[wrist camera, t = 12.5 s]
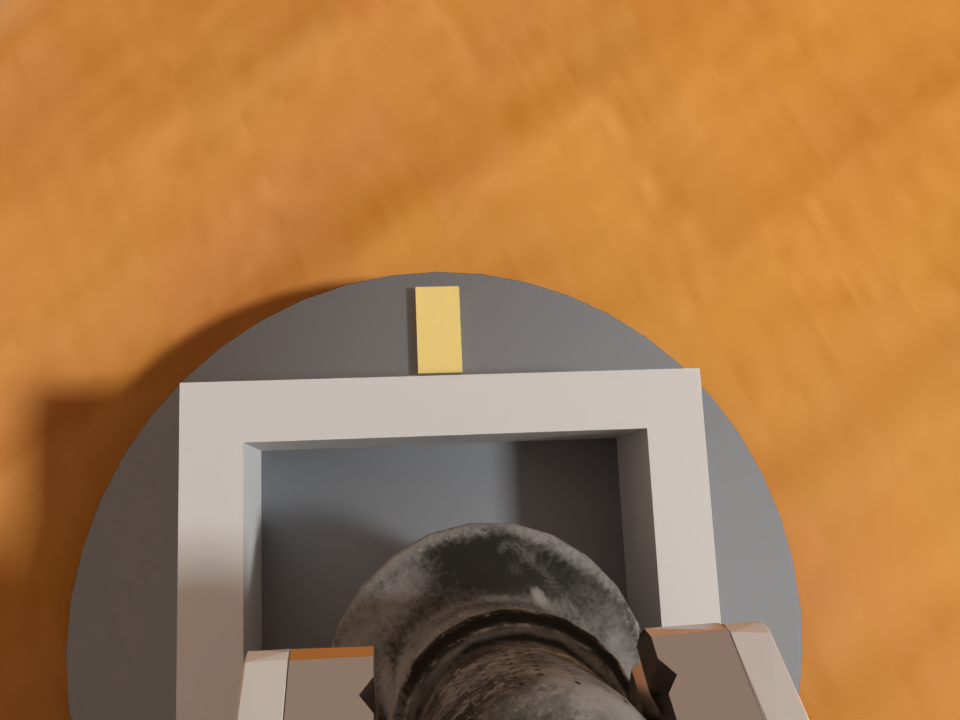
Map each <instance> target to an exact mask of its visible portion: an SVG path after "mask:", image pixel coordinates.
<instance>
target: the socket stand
mask: <svg viewBox="0 0 960 720" xmlns="http://www.w3.org/2000/svg"><path fill="white" fill-rule="evenodd" d="M467 523H513V524H517V525H520V526H524V527H527V528H531V529H534V530H538V531H541V532H545V533H549V534H552V535H554V536H555V537H557V538H559V539H560V540H562V541H564V542H565V543H567V544H569V545H570V546H572V547H574V548H575V549H577V550H579V551H580V552H582V553H584V554H585V555H587V556H588V557H589V558H590V559H591V560H592V561H593V562H594V563H595V564H596V565H597V566H598V567H599V568H600V569H601V570H602V571H603V572H604V573H605V574H606V575H607V576H608V577H609V578H610V579H611V580H612V581H613V582H614V583H615V584H616V585H617V587H618V588H619V590H620V592H621V594H622V595H623V597H624V599H625V601H626V602H627V604H628V606H629V608H630V609H631V611H632V613H633V615H634V616H635V618H636V620H637V622H638V623H639V627H640V630H641V631H642V630H643V629H644V628H655V627H668V626H681V625H694V624H707V623H720V624H727V623H739V622H751V621H760V622H763V623H764V624H765V625H766V626H767V627H768V628H769V630H770V632H771V634H772V637H773V639H774V641H775V643H776V646H777V648H778V650H779V652H780V655H781V657H782V659H783V661H784V664H785V666H786V668H787V670H788V673H789V675H790V677H791V679H792V682H793V684H794V686H795V688H796V691H797V693H798V695H799V688H800V676H801V665H802V636H801V609H800V602H799V596H798V589H797V583H796V577H795V571H794V564H793V559H792V556H791V552H790V549H789V545H788V542H787V538H786V535H785V531H784V528H783V524H782V521H781V517H780V515H779V512H778V510H777V508H776V505H775V503H774V500H773V498H772V496H771V493H770V491H769V489H768V486H767V484H766V482H765V479H764V477H763V474H762V472H761V471H760V469H759V467H758V465H757V464H756V462H755V460H754V459H753V457H752V455H751V453H750V452H749V450H748V448H747V446H746V445H745V443H744V441H743V439H742V438H741V436H740V434H739V433H738V431H737V430H736V429H735V427H734V426H733V425H732V423H731V422H730V421H729V419H728V418H727V417H726V415H725V414H724V413H723V411H722V410H721V409H720V407H719V406H718V405H717V403H716V402H715V401H714V400H713V398H712V397H711V396H710V395H709V394H708V393H707V392H706V391H705V390H704V389H703V388H702V387H701V378H700V368H683V367H682V366H681V365H680V364H679V363H678V362H676V361H675V360H674V359H673V358H671V357H670V356H669V355H668V354H666V353H665V352H664V351H663V350H661V349H660V348H659V347H658V346H656V345H655V344H654V343H653V342H651V341H650V340H649V339H648V338H647V337H645V336H644V335H642V334H640V333H639V332H637V331H635V330H634V329H632V328H631V327H629V326H627V325H626V324H624V323H622V322H621V321H619V320H618V319H616V318H614V317H613V316H611V315H610V314H608V313H606V312H604V311H601V310H599V309H597V308H595V307H593V306H590V305H588V304H586V303H584V302H582V301H579V300H577V299H575V298H573V297H571V296H568V295H566V294H562V293H559V292H556V291H553V290H550V289H546V288H543V287H540V286H537V285H533V284H530V283H527V282H523V281H517V280H512V279H506V278H500V277H495V276H489V275H483V274H468V273H447V272H430V273H417V274H405V275H392V276H387V277H382V278H377V279H373V280H368V281H363V282H358V283H353V284H349V285H345V286H342V287H339V288H336V289H333V290H330V291H328V292H325V293H322V294H319V295H316V296H313V297H310V298H307V299H305V300H302V301H300V302H298V303H296V304H294V305H292V306H290V307H288V308H286V309H284V310H282V311H280V312H278V313H276V314H274V315H272V316H270V317H268V318H266V319H264V320H262V321H260V322H258V323H257V324H255V325H254V326H252V327H251V328H249V329H248V330H246V331H245V332H243V333H242V334H240V335H239V336H237V337H236V338H234V339H233V340H231V341H230V342H228V343H227V344H225V345H224V346H222V347H221V348H220V349H219V350H217V351H216V352H215V353H214V354H213V355H212V356H210V357H209V358H208V359H207V360H206V361H205V362H203V363H202V364H201V365H200V366H199V367H198V368H197V369H195V370H194V371H193V372H192V373H191V374H190V375H188V376H187V377H186V378H185V379H184V380H183V381H182V382H181V383H180V384H179V386H178V387H177V388H176V389H175V390H174V391H173V392H172V393H171V394H170V396H169V397H168V398H167V399H166V400H165V401H164V402H163V403H162V404H161V406H160V407H159V408H158V409H157V410H156V411H155V412H154V413H153V415H152V416H151V417H150V419H149V420H148V421H147V423H146V424H145V426H144V427H143V429H142V430H141V432H140V433H139V434H138V436H137V437H136V439H135V440H134V442H133V443H132V445H131V446H130V447H129V449H128V450H127V452H126V453H125V455H124V456H123V458H122V460H121V462H120V464H119V466H118V468H117V470H116V471H115V473H114V475H113V477H112V479H111V481H110V483H109V485H108V487H107V489H106V491H105V493H104V495H103V496H102V498H101V500H100V503H99V506H98V508H97V511H96V514H95V516H94V519H93V522H92V525H91V527H90V530H89V533H88V535H87V538H86V541H85V544H84V546H83V549H82V554H81V558H80V562H79V567H78V571H77V575H76V580H75V584H74V589H73V593H72V597H71V606H70V616H69V627H68V637H67V648H66V659H67V687H68V705H69V711H70V717H71V720H235V719H236V712H237V704H238V697H239V690H240V683H241V675H242V668H243V664H244V661H245V658H246V655H247V652H248V651H261V650H279V649H306V648H331V647H332V644H333V641H334V637H335V634H336V631H337V627H338V624H339V622H340V621H341V619H342V617H343V616H344V614H345V612H346V611H347V609H348V607H349V606H350V604H351V602H352V601H353V599H354V597H355V596H356V594H357V592H358V591H359V589H360V587H361V586H362V585H363V584H364V583H365V582H366V581H367V580H368V579H369V578H370V577H371V576H372V575H373V574H374V573H375V572H376V571H377V570H378V569H379V568H380V567H381V566H382V565H383V564H384V563H385V562H386V561H387V560H388V559H389V558H390V557H391V556H392V555H393V554H395V553H397V552H398V551H400V550H402V549H404V548H405V547H407V546H409V545H410V544H412V543H414V542H416V541H417V540H419V539H421V538H423V537H424V536H426V535H428V534H430V533H434V532H437V531H441V530H445V529H449V528H452V527H456V526H460V525H464V524H467Z"/></svg>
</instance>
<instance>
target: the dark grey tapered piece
mask: <svg viewBox="0 0 960 720" xmlns="http://www.w3.org/2000/svg"><path fill="white" fill-rule="evenodd" d="M640 633H641V630H640V627H639V623H638V622H637V620H636V618H635V616H634V615H633V613H632V611H631V609H630V608H629V606H628V604H627V602H626V601H625V599H624V597H623V595H622V594H621V592H620V590H619V588H618V587H617V585H616V584H615V583H614V582H613V581H612V580H611V579H610V578H609V577H608V576H607V575H606V574H605V573H604V572H603V571H602V570H601V569H600V568H599V567H598V566H597V565H596V564H595V563H594V562H593V561H592V560H591V559H590V558H589V557H588V556H587V555H585V554H584V553H582V552H580V551H579V550H577V549H575V548H574V547H572V546H570V545H569V544H567V543H565V542H564V541H562V540H560V539H559V538H557V537H555V536H554V535H552V534H549V533H545V532H541V531H538V530H534V529H531V528H527V527H524V526H520V525H517V524H513V523H467V524H464V525H460V526H456V527H452V528H449V529H445V530H441V531H437V532H434V533H430V534H428V535H426V536H424V537H423V538H421V539H419V540H417V541H416V542H414V543H412V544H410V545H409V546H407V547H405V548H404V549H402V550H400V551H398V552H397V553H395V554H393V555H392V556H391V557H390V558H389V559H388V560H387V561H386V562H385V563H384V564H383V565H382V566H381V567H380V568H379V569H378V570H377V571H376V572H375V573H374V574H373V575H372V576H371V577H370V578H369V579H368V580H367V581H366V582H365V583H364V584H363V585H362V586H361V587H360V589H359V591H358V592H357V594H356V596H355V597H354V599H353V601H352V602H351V604H350V606H349V607H348V609H347V611H346V612H345V614H344V616H343V617H342V619H341V621H340V622H339V624H338V627H337V631H336V634H335V637H334V641H333V644H332V647H356V646H374V652H375V679H376V686H377V713H378V720H646V719H645V718H644V717H643V716H642V715H641V714H640V713H639V712H638V711H637V709H636V708H635V707H634V706H633V705H632V704H631V703H630V702H629V682H630V676H631V670H632V668H633V667H635V666H636V665H637V664H638V663H639V662H641V661H640V657H639V653H638V650H637V643H638V639H639V634H640Z"/></svg>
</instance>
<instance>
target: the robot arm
mask: <svg viewBox="0 0 960 720" xmlns="http://www.w3.org/2000/svg"><path fill="white" fill-rule="evenodd" d="M637 650H638V653H639V657H640V661H641V662H639V663H638V664H637V665H636V666H635V667H633V668H632V670H631V676H630V682H629V702H630V703H631V704H632V705H633V706H634V707H635V708H636V709H637V711H638V712H639V713H640V714H641V715H642V716H643V717H644V718H645V719H646V720H809V718H808V715H807V713H806V711H805V709H804V706H803V704H802V702H801V700H800V697H799V695H798V693H797V691H796V688H795V686H794V684H793V682H792V679H791V677H790V675H789V673H788V670H787V668H786V666H785V664H784V661H783V659H782V657H781V655H780V652H779V650H778V648H777V646H776V643H775V641H774V639H773V637H772V634H771V632H770V630H769V628H768V627H767V626H766V625H765V624H764V623H763V622H760V621H751V622H739V623H727V624H720V623H707V624H694V625H681V626H668V627H655V628H644V629H643V630H642V631H641V633H640V634H639V639H638V643H637ZM235 720H378V713H377V686H376V679H375V652H374V646H356V647H331V648H306V649H279V650H261V651H248V652H247V655H246V658H245V661H244V664H243V668H242V675H241V683H240V690H239V697H238V704H237V712H236V719H235Z"/></svg>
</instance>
